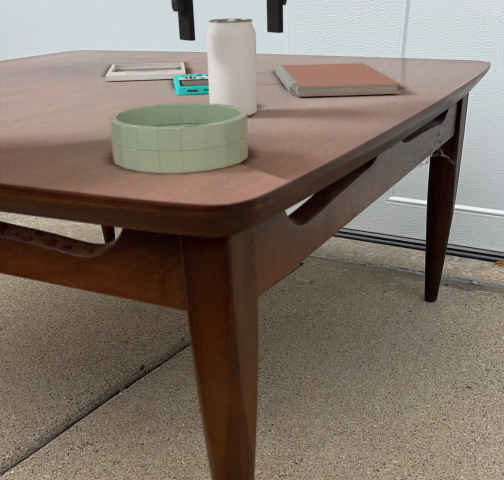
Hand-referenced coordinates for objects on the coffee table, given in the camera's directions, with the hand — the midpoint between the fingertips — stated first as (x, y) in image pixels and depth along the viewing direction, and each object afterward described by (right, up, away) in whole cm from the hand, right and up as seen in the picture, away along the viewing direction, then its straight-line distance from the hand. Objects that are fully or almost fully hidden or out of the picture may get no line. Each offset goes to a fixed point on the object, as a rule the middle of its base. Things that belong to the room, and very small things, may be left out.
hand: (232, 36), depth 90 cm
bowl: (-5, -21, -20) cm, 29 cm away
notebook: (+16, +2, +28) cm, 32 cm away
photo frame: (-18, +9, +45) cm, 49 cm away
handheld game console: (-6, +2, +28) cm, 29 cm away
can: (0, -9, +4) cm, 10 cm away
